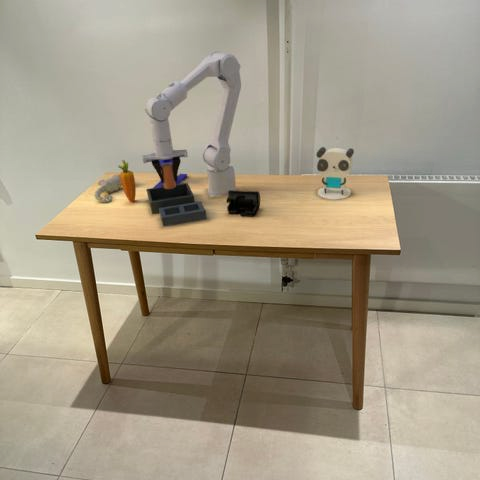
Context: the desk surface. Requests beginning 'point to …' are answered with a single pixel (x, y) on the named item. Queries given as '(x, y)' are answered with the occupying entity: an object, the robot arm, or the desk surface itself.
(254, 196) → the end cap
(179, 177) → the mount
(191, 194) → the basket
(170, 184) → the tube
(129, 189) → the carrot
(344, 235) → the desk surface
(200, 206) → the rack
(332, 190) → the panda figurine
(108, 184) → the seahorse
